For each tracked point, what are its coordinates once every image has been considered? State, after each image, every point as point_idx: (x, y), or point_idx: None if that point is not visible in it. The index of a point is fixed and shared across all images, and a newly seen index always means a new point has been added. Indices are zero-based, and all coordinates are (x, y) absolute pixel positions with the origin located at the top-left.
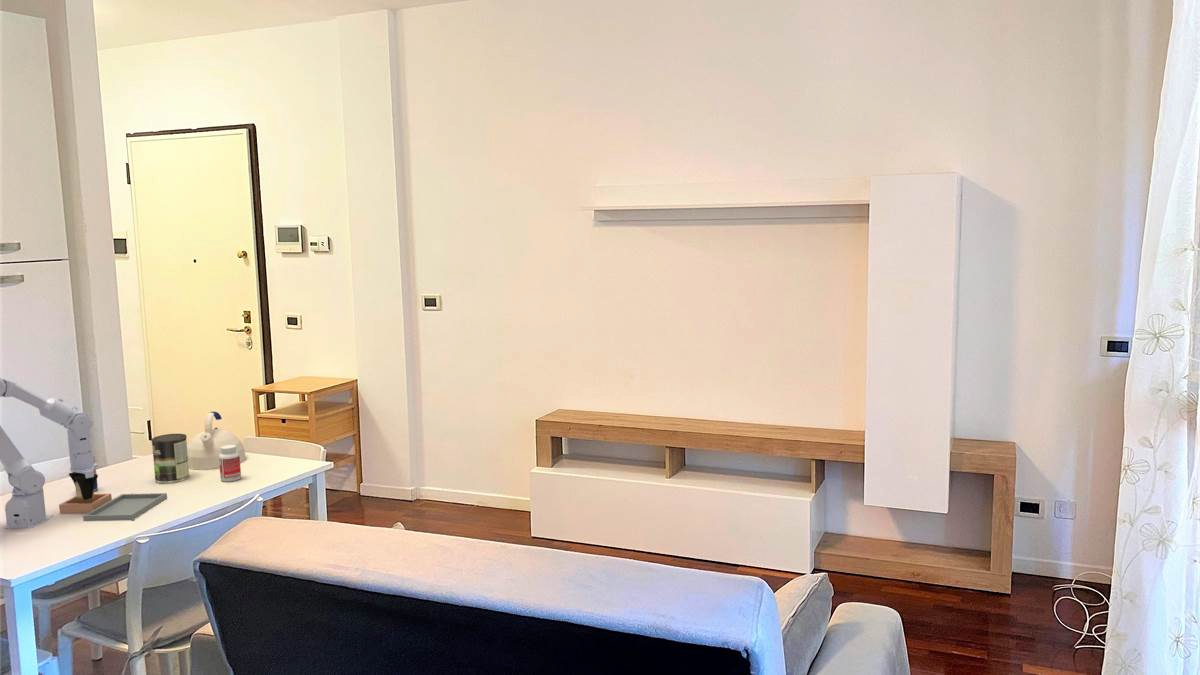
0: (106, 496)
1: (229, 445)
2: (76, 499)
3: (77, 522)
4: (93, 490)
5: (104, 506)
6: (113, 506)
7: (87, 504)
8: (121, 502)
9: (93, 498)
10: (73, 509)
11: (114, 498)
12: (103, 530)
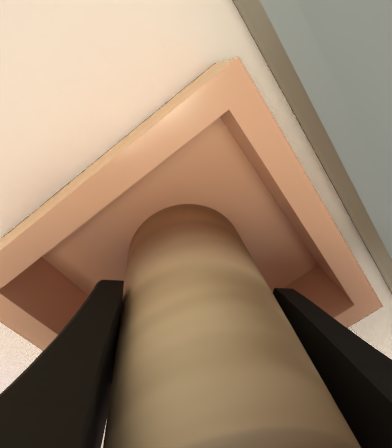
0: (286, 143)
1: None
2: (59, 313)
3: (383, 349)
4: (256, 290)
5: (389, 213)
6: (377, 133)
7: (345, 324)
8: (345, 26)
9: (247, 254)
10: None
11: (297, 62)
12: None
